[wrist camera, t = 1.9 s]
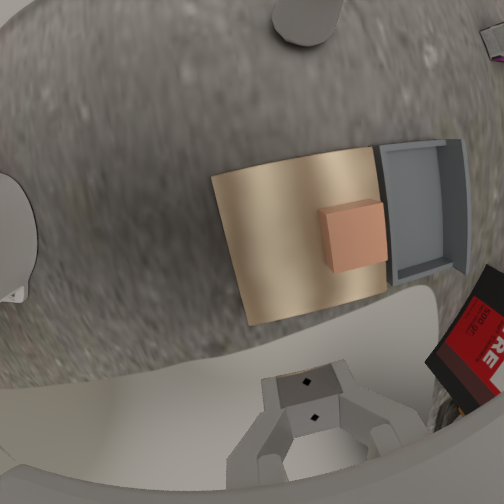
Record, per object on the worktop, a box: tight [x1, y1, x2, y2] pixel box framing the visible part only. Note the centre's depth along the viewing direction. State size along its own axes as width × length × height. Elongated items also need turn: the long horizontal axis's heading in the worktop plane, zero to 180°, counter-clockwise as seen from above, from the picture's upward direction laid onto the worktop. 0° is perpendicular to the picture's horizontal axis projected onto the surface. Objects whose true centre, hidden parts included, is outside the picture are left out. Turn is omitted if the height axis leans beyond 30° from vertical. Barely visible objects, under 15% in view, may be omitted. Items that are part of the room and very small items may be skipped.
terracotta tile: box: [318, 199, 388, 274], centre depth 24 cm, size 5×5×2 cm
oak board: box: [211, 147, 387, 326], centre depth 26 cm, size 14×14×3 cm
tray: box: [368, 139, 471, 287], centre depth 25 cm, size 9×14×5 cm, turn 12°
